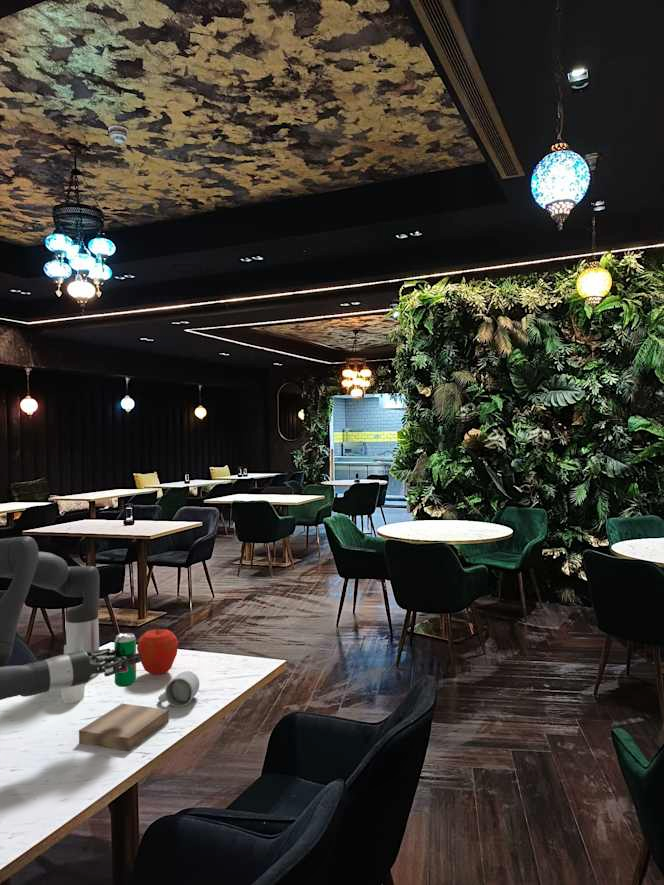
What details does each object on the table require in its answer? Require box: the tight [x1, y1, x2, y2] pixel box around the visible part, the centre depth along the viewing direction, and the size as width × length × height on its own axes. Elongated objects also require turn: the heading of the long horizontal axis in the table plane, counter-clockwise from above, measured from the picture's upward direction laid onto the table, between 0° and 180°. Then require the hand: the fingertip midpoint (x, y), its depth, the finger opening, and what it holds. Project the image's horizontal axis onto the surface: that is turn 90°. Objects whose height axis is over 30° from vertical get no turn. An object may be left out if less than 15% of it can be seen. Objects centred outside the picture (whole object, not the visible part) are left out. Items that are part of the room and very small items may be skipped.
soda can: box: [113, 632, 137, 688], centre depth 156 cm, size 5×5×12 cm
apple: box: [136, 627, 179, 676], centre depth 193 cm, size 12×12×14 cm
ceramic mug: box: [157, 671, 200, 708], centre depth 172 cm, size 11×8×8 cm
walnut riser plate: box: [78, 702, 170, 752], centre depth 154 cm, size 14×16×3 cm
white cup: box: [60, 683, 86, 704], centre depth 175 cm, size 7×7×7 cm
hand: (135, 654), depth 158 cm, fingers closed on soda can, 5 cm apart
